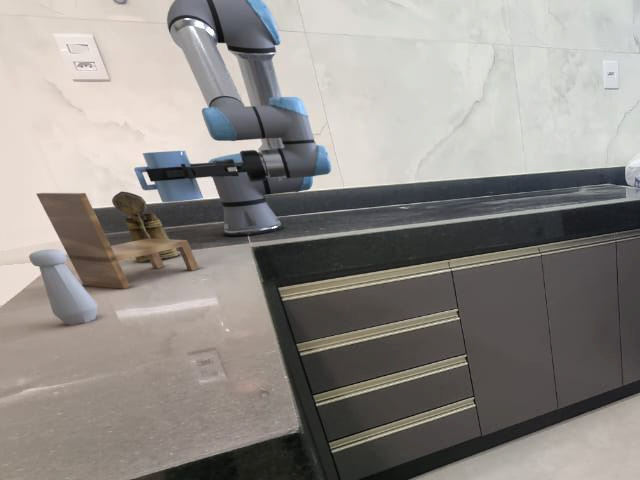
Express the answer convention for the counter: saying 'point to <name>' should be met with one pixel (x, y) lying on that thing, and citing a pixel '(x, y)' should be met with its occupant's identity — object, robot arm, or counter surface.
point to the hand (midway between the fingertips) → (149, 174)
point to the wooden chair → (100, 242)
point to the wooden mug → (141, 222)
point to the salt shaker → (64, 288)
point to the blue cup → (169, 188)
